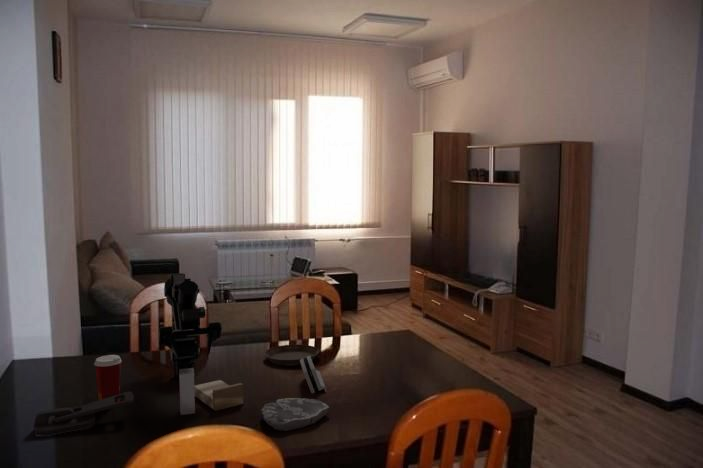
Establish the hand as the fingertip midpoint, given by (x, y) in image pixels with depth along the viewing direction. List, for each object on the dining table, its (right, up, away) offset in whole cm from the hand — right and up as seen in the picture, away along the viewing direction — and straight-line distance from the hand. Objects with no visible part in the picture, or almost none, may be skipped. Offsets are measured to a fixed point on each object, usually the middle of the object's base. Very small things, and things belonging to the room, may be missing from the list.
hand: (193, 355), depth 175 cm
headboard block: (+7, -14, +3) cm, 16 cm away
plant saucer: (+25, -11, +44) cm, 52 cm away
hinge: (+35, -13, +16) cm, 41 cm away
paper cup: (-25, -15, 0) cm, 29 cm away
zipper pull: (-25, -16, -16) cm, 34 cm away
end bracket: (0, -15, -7) cm, 17 cm away
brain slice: (+31, -16, -12) cm, 36 cm away
